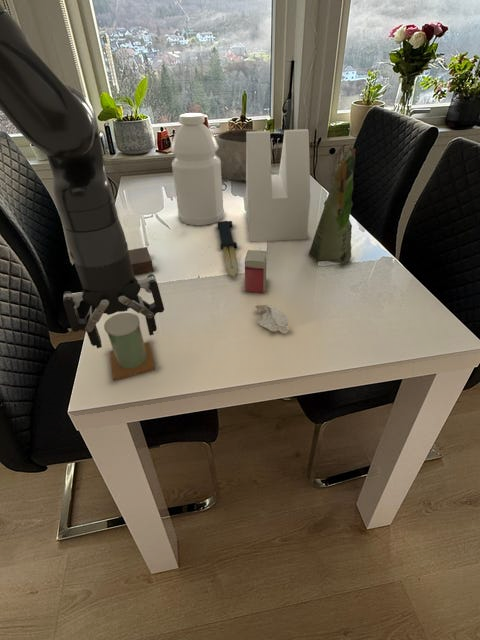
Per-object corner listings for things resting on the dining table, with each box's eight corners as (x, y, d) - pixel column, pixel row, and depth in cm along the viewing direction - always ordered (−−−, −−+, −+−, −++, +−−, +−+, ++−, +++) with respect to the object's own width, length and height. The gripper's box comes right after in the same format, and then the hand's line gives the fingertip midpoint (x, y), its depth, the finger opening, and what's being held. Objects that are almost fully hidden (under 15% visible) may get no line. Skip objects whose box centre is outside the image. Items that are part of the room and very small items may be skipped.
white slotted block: (246, 213, 116) (244, 124, 101) (296, 211, 116) (301, 122, 101) (250, 241, 101) (248, 141, 86) (306, 239, 101) (315, 138, 86)
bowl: (219, 189, 135) (216, 144, 125) (207, 171, 152) (204, 130, 143) (280, 181, 139) (281, 137, 130) (261, 164, 156) (261, 125, 147)
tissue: (280, 308, 77) (281, 293, 74) (290, 333, 70) (291, 317, 68) (253, 311, 76) (253, 296, 74) (261, 337, 70) (261, 321, 68)
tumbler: (117, 373, 63) (105, 337, 58) (114, 352, 67) (103, 317, 62) (150, 364, 64) (141, 329, 59) (145, 344, 68) (136, 309, 63)
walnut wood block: (127, 276, 89) (124, 265, 87) (123, 262, 94) (121, 251, 92) (153, 271, 90) (151, 260, 88) (149, 257, 96) (146, 246, 94)
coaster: (113, 380, 62) (113, 378, 62) (110, 353, 68) (109, 351, 67) (155, 369, 64) (154, 366, 64) (149, 344, 69) (148, 341, 69)
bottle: (233, 215, 115) (228, 113, 98) (200, 230, 108) (189, 122, 90) (202, 204, 123) (193, 108, 106) (169, 218, 115) (153, 116, 98)
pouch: (338, 243, 98) (352, 141, 83) (364, 264, 90) (385, 154, 74) (299, 251, 96) (307, 147, 80) (322, 273, 87) (336, 161, 71)
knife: (231, 220, 109) (243, 273, 85) (232, 225, 110) (243, 279, 86) (217, 221, 108) (225, 274, 85) (217, 226, 109) (225, 280, 86)
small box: (248, 280, 86) (247, 249, 81) (266, 281, 85) (267, 250, 80) (244, 292, 82) (243, 260, 77) (264, 293, 81) (264, 261, 76)
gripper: (147, 232, 57) (163, 316, 67) (47, 249, 54) (80, 335, 64) (155, 253, 51) (171, 342, 61) (44, 274, 48) (81, 364, 58)
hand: (125, 338), depth 63 cm, fingers open, 8 cm apart
